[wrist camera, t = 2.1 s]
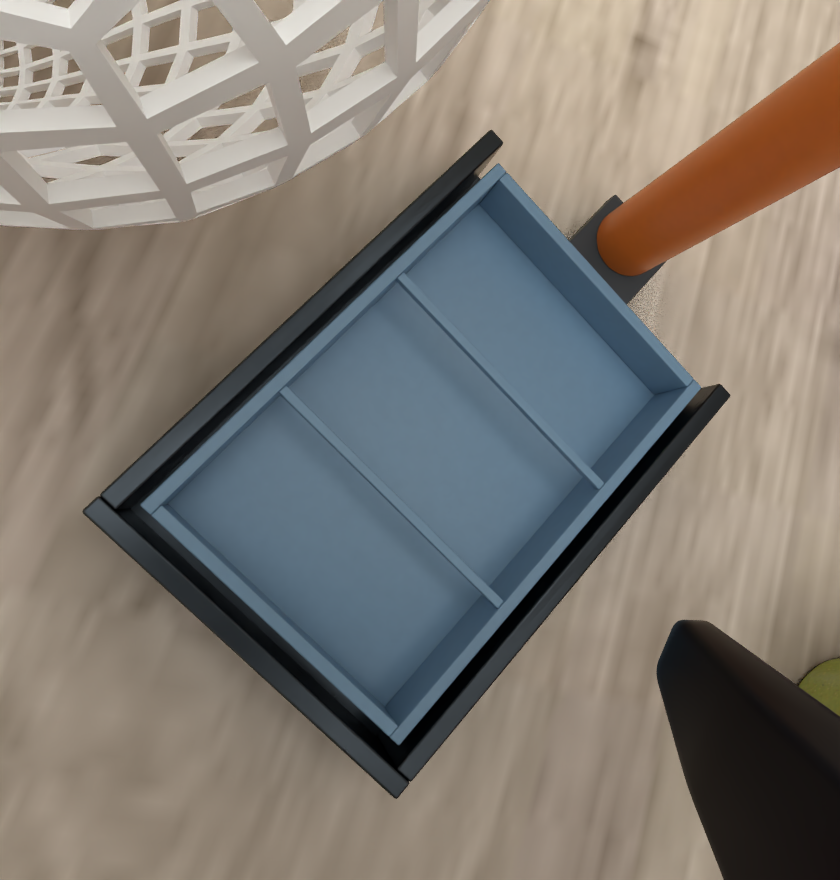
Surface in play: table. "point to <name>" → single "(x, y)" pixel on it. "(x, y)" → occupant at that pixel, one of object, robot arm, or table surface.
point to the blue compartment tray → (470, 415)
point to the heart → (197, 102)
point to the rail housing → (250, 632)
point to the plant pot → (825, 684)
